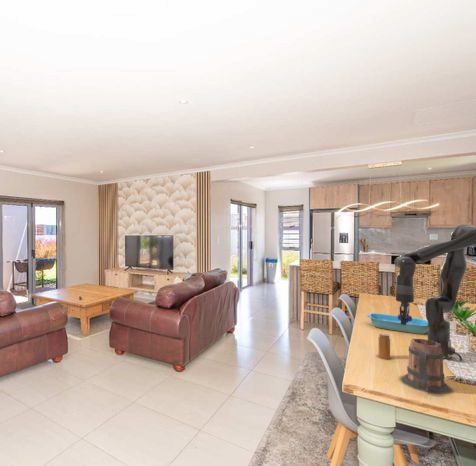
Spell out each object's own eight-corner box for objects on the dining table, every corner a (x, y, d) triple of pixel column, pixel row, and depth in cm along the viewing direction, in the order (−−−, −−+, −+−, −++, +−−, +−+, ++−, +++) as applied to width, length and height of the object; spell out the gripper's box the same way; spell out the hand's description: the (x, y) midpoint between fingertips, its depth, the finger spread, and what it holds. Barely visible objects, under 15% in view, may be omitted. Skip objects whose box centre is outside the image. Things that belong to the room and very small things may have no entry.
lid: (406, 321, 178) (406, 317, 178) (395, 318, 184) (395, 314, 184) (414, 320, 180) (414, 316, 180) (402, 317, 186) (402, 313, 186)
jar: (391, 357, 185) (391, 334, 185) (387, 360, 182) (388, 336, 182) (380, 354, 189) (380, 332, 189) (376, 356, 186) (376, 334, 186)
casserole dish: (430, 328, 235) (430, 318, 235) (436, 337, 217) (436, 326, 217) (366, 320, 256) (366, 311, 256) (366, 327, 238) (366, 318, 238)
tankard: (404, 372, 166) (404, 333, 166) (451, 384, 154) (452, 341, 153) (396, 389, 150) (396, 345, 150) (448, 403, 138) (449, 355, 137)
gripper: (398, 290, 189) (398, 319, 190) (393, 293, 180) (393, 324, 180) (415, 291, 184) (415, 322, 184) (411, 295, 174) (411, 327, 174)
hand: (404, 323), depth 182 cm, fingers closed on lid, 5 cm apart
